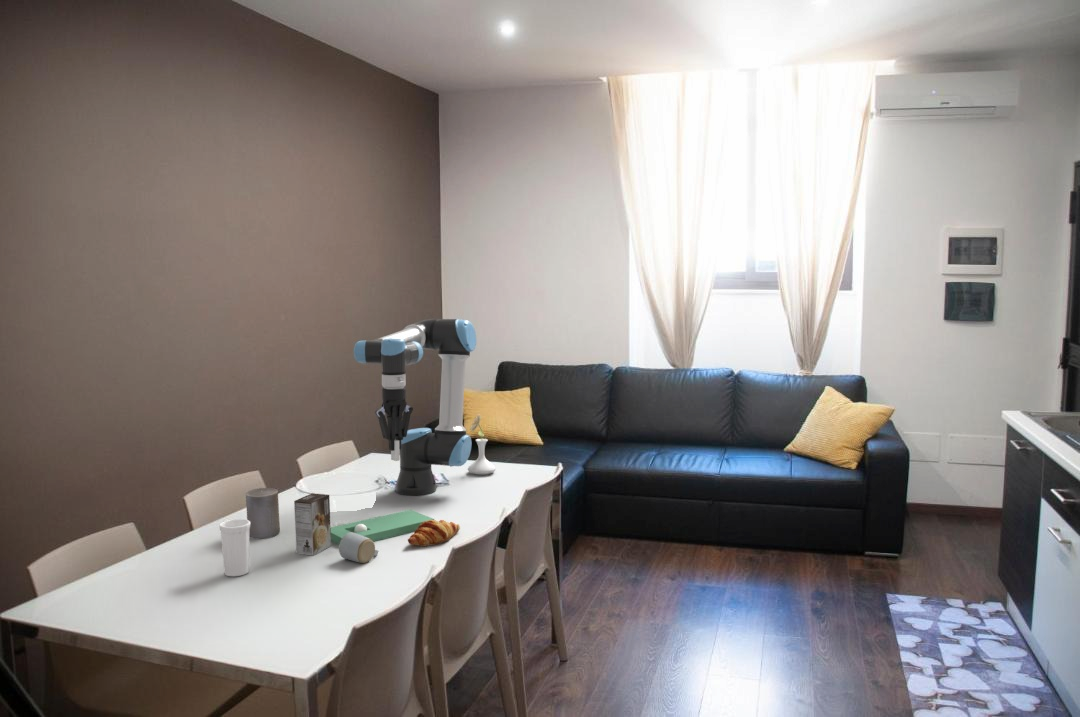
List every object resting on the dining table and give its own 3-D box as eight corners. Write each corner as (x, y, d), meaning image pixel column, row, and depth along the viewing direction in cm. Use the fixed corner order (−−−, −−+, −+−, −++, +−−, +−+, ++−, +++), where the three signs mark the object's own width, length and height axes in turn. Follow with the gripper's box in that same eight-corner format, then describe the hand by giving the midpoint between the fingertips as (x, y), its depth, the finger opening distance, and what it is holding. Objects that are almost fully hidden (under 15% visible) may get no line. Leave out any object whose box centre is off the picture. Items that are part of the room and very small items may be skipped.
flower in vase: (471, 469, 354) (470, 409, 351) (498, 470, 352) (497, 410, 349) (463, 477, 341) (463, 415, 338) (491, 478, 339) (491, 416, 336)
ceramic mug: (359, 567, 240) (358, 540, 240) (338, 561, 245) (338, 535, 244) (385, 557, 249) (385, 531, 249) (364, 551, 254) (364, 526, 253)
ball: (364, 523, 270) (353, 521, 267) (371, 526, 267) (360, 524, 264) (361, 535, 270) (350, 534, 267) (367, 539, 267) (356, 537, 264)
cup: (222, 580, 230) (220, 529, 228) (220, 570, 237) (218, 520, 236) (253, 576, 233) (251, 525, 232) (251, 566, 241) (249, 517, 239)
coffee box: (313, 543, 260) (312, 492, 258) (331, 546, 258) (330, 494, 256) (295, 553, 252) (293, 500, 250) (313, 556, 249) (312, 502, 248)
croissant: (452, 540, 274) (444, 517, 276) (472, 531, 269) (464, 507, 270) (403, 556, 258) (394, 531, 259) (424, 547, 252) (415, 522, 254)
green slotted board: (410, 516, 288) (410, 509, 288) (434, 526, 277) (434, 519, 277) (323, 536, 267) (323, 529, 266) (346, 548, 256) (345, 540, 256)
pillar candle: (267, 527, 276) (264, 482, 274) (286, 532, 270) (284, 486, 269) (241, 535, 268) (238, 489, 266) (260, 541, 263) (258, 493, 261)
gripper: (382, 390, 264) (383, 465, 267) (417, 386, 273) (419, 458, 275) (369, 387, 270) (371, 461, 272) (404, 383, 278) (406, 454, 281)
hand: (395, 459), depth 274 cm, fingers closed
